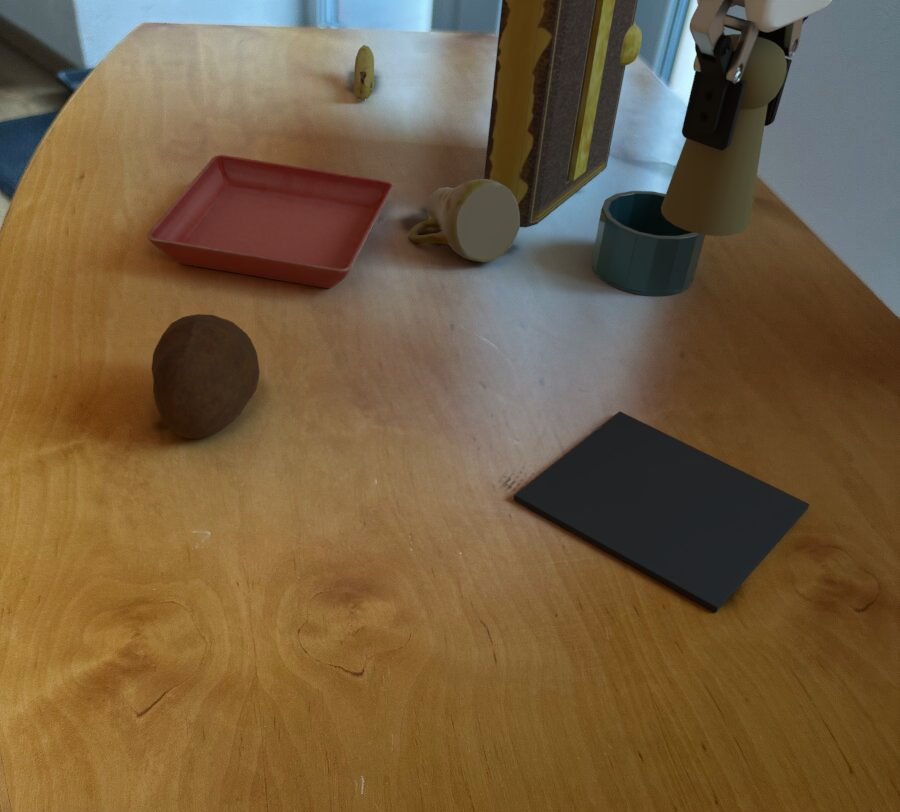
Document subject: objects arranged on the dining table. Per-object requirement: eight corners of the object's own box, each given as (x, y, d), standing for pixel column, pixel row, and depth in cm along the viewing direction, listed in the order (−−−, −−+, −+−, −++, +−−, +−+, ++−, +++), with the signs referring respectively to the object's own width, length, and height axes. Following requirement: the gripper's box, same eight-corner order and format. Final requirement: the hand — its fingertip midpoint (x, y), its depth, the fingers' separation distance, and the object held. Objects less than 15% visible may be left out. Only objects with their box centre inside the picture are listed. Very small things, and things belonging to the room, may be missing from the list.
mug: (461, 214, 102) (513, 142, 94) (487, 297, 99) (541, 231, 91) (396, 205, 98) (443, 129, 90) (420, 291, 95) (471, 221, 87)
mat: (807, 509, 73) (810, 503, 72) (715, 613, 65) (717, 607, 64) (618, 416, 79) (619, 410, 79) (512, 500, 71) (513, 494, 71)
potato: (144, 454, 71) (127, 356, 66) (170, 376, 78) (157, 281, 73) (250, 461, 72) (242, 364, 66) (267, 382, 79) (261, 288, 73)
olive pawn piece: (729, 245, 67) (780, 64, 59) (646, 216, 69) (684, 39, 61) (762, 213, 70) (814, 40, 63) (682, 188, 72) (723, 16, 65)
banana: (355, 77, 126) (355, 42, 123) (375, 79, 126) (375, 44, 123) (351, 108, 119) (352, 71, 116) (372, 109, 119) (373, 73, 116)
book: (539, 233, 100) (582, -63, 82) (463, 208, 102) (490, -84, 85) (625, 162, 114) (679, -104, 96) (557, 142, 116) (597, -121, 99)
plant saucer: (348, 304, 88) (349, 268, 85) (147, 271, 89) (142, 235, 87) (394, 214, 100) (396, 181, 98) (218, 186, 102) (215, 153, 99)
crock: (711, 271, 97) (726, 215, 93) (660, 307, 92) (675, 249, 88) (625, 236, 101) (637, 181, 97) (572, 269, 95) (582, 212, 91)
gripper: (817, -208, 46) (714, 188, 59) (950, -228, 56) (837, 115, 69) (674, -235, 49) (606, 147, 62) (824, -249, 59) (738, 83, 72)
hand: (728, 127), depth 65 cm, fingers closed on olive pawn piece, 5 cm apart
